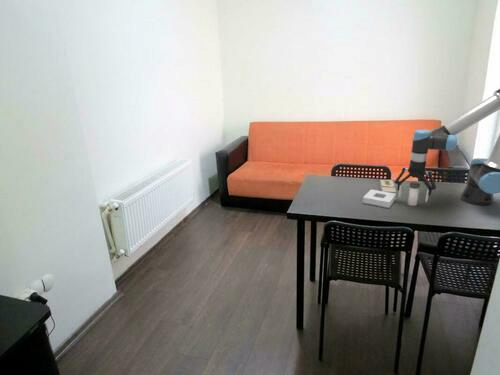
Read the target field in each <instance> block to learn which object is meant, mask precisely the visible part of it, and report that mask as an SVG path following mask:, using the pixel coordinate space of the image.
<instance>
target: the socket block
mask: <svg viewBox="0 0 500 375" xmlns="http://www.w3.org/2000/svg"><path fill="white" fill-rule="evenodd" d="M396 198H397V193H396V194H395V193H389V192H383V191H381V190H377V189H370V190H369V191H368V192H367V193H366V194H365V195H363V197H362V204H363V205H364V204H365V205H369V206H372V207H373V206H374V207H380V208H385V209H390V208H391V207H392V206H393V204H394V203H395V201H396V200H397V199H396Z"/></svg>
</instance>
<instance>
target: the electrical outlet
mask: <svg viewBox="0 0 500 375" xmlns="http://www.w3.org/2000/svg"><path fill="white" fill-rule="evenodd" d="M379 188H380V191H383V192H389V193H395V194H396V195H397V189H396V186H395V183H394V180H391V179H380V180H379Z"/></svg>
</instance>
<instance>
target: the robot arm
mask: <svg viewBox="0 0 500 375" xmlns="http://www.w3.org/2000/svg"><path fill="white" fill-rule="evenodd" d="M499 110H500V88H499V89H497V90H495V91H493V94H492V95H491V96H490V97H488V98H485V100H483V101H481V102H480V103H478V104H477V105H474V106H473V107H471V108H470V109H468V110H467V111H465V112H463V113H461V114H460V115H458V116H456V117H455V118H453V119H452V120H450V121H449V122H447V123H445V124H444V125H442V126H441V127H438V128H437V127H436V128H433V129H432V130H429V129H416V130H415V131H414V134H413V137H412V143H411V144H412V146H411V154H410V161H409V165H408V166H409V168H408V167H406V166H403V167H402V170H401V172H400V173H399V175H398V177H396V179H395V181H393V183H394V184H396V185H397V187H396V188H397V189H396V191H398V195H397V196H398V198H400V197H401V196H402V192H403V191H402V190H403V183H404V182H406V180H408V179H409V178H416V179H421V180H422V182H423V183H424V185H425V186H426V188H427V190H426V195H425V203H427V202H428V201H429V197H430V196H432V191H435V190H436V189H437V185H436V182H435V180H434V178H433V175H432V174H433V173H432V172H433V171H432V170H426V167H427V159H428V153H429V151H430V150H431V151H432V150H433V151H435V150H436V151H446V152H447V151H455V150H456V148H457V145H458V144H457V143H458V138H457V137H458V136H456V135H458V134H460V133H461V132H463V131H465V130H467V129H468V128H470V127H472V126H474V125H475V124H478V123H479V122H480V121H482V120H484V119H486V118H487V117H489V116H491V115H493V114H494V113H496V112H498V111H499ZM469 165H470V166H469V171H468V176H467V181H466V186H465V187H464V188H463V190H462V191H461V194H460V199H461V200H462V201H463V202H465V203H468V204H471V205H476V206H490V205H492V204H493V203H494V199H495V197H494V195H495V194H499V193H500V132H499V133H498V136H497V138H496V140H495V143H494V145H493V147H492V150H491V153H490V155H489V156H488V158H479V157H478V158H473V159H472V160H471V161H470V164H469ZM407 171H408V174H407V175H406V176H404V177H403V175H404V174H405V173H406V172H407ZM425 175H426V176H428V179H427V178H426V176H425ZM402 177H403V178H402ZM401 178H402V179H401ZM400 179H401V180H400ZM428 180H429V181H428Z"/></svg>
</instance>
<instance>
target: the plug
mask: <svg viewBox="0 0 500 375" xmlns="http://www.w3.org/2000/svg"><path fill="white" fill-rule="evenodd" d="M420 187H421V183H420V182H417V181H411V182H409V189H408V190H409V191H408V199H407V205H409V206H411V207H416V206H418V199H419V192H420Z"/></svg>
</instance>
